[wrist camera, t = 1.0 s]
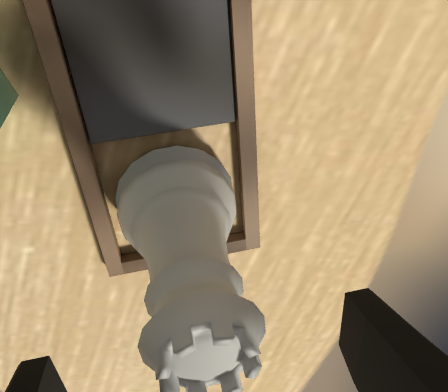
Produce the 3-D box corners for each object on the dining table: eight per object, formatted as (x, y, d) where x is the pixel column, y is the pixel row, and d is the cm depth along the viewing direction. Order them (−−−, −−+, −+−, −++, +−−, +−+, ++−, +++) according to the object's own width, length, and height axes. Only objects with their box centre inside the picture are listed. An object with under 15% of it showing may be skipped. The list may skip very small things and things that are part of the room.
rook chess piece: (201, 248, 18) (246, 432, 12) (98, 220, 17) (84, 420, 10) (250, 162, 17) (336, 324, 10) (141, 121, 15) (158, 286, 8)
